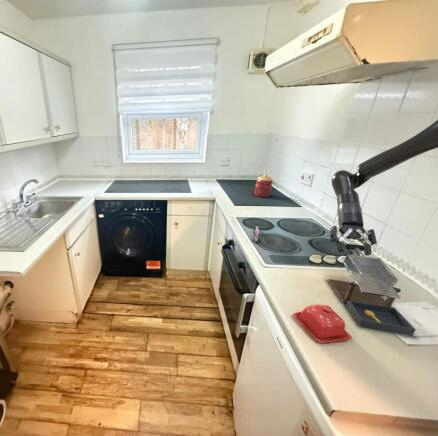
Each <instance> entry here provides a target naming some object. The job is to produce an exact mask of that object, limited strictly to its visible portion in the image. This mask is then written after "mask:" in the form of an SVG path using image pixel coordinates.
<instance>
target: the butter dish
mask: <svg viewBox="0 0 438 436" xmlns="http://www.w3.org/2000/svg"><path fill="white" fill-rule="evenodd" d="M292 316H293V317H294V319H295V320H296V321H297V322H298V323H299V324H300V325H301V326H302V327H303V328H304V329H305V330H306V332H308V333H309V334H310V336H312V338H313V339H314V340H316V342H317V343H322V344H323V343H333V342H341V341H348V340H351V339H353V337H352V335H351V334H350V333H349V332H347V331H346V323H345V320H344V319H343V318H342V316H340V315H339V314H338V313H337V312H335V311H334V310H333V308H332V307H331V306H330V305H328V304H311V305H308V306H306V307H304V308H303V309H302V311H297V312H294V313H292Z"/></svg>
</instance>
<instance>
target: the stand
mask: <svg viewBox="0 0 438 436" xmlns="http://www.w3.org/2000/svg"><path fill="white" fill-rule="evenodd" d="M327 282H328V284H329V286H330V287H331V288H332V289H333V291H334V293H335V294H336V295H337V298H338V299H339V300H340V301H341V303H342V304H345V305H346V304H347V301H348V300H350V301H356V302H363V303H369V304H375V305H381V306H387V307H393V306H392V305H393V304H394V302H395V300H396V298H391V297H386V299H384V298H383V296H378V295H372V294H365V293H361V291H360V290H359V288H358V286H357V285H356V283H355V282H354V280H349V281H344V280H337V279H331V278H328V280H327ZM393 288H394V290H395V291H396V292H397V293H398V294H399V293H401V291H402V290H401V288H399V287H397V286H394V287H393Z"/></svg>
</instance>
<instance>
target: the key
mask: <svg viewBox="0 0 438 436" xmlns="http://www.w3.org/2000/svg"><path fill="white" fill-rule="evenodd" d="M365 314H367V315H368V316H371V317H372V318H373V319H374V320H375V321H377V322H380V321H379V320H378V319H377V318H376V317H375V316H374V315H375V314H374V313H373V312H372V311H369V310H365ZM381 323H382V322H381Z"/></svg>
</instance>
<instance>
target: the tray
mask: <svg viewBox="0 0 438 436" xmlns="http://www.w3.org/2000/svg"><path fill="white" fill-rule="evenodd" d="M345 307H346V309H347V310H348V311H349V313H350V314H351V316H352V318H353V319H354V321H355V322H356V324H357V325H358V326H359V327H361V328H367V329H371V330H378V331H383V332H387V333H388V332H389V333H393V334H399V335H405V336H410V337H412V336H413V335H414V334H415V331H416V328H415V327H414V326H413V325H412V324H411V323H410V322H409V321H408V320H407V319H406V318H405V316H404V315H403V314H402V313H401V312H399V311H400V310H398V308H396V307H394V306H391V307H387V306H381V305H375V304H369V303H363V302H356V301H350V300H348V301H347V304H346V303H345ZM365 310H369V311H372V312H373V313H374V314H375V315H374V316H375V317H376V318H377V319H378V320H379V321H380V322H377V321H375V320H374V319H373V318H372V317H371V316H368V315H367V314H365ZM381 322H382V323H381Z"/></svg>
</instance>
